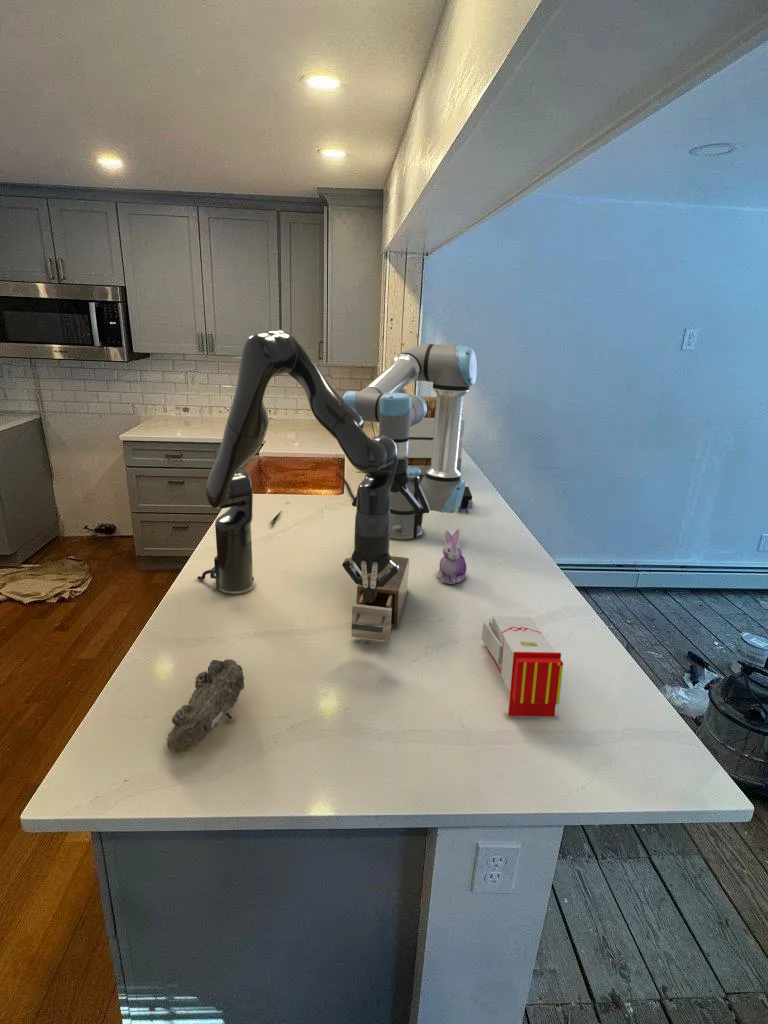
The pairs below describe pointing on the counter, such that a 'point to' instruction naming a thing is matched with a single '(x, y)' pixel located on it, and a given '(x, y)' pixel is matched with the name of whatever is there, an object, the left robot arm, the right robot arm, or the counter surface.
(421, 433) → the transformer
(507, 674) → the toy
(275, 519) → the feather
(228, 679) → the grey lumpy elongated piece
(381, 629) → the drawer
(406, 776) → the counter surface
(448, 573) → the figurine
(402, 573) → the cabinet
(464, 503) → the figurine character
